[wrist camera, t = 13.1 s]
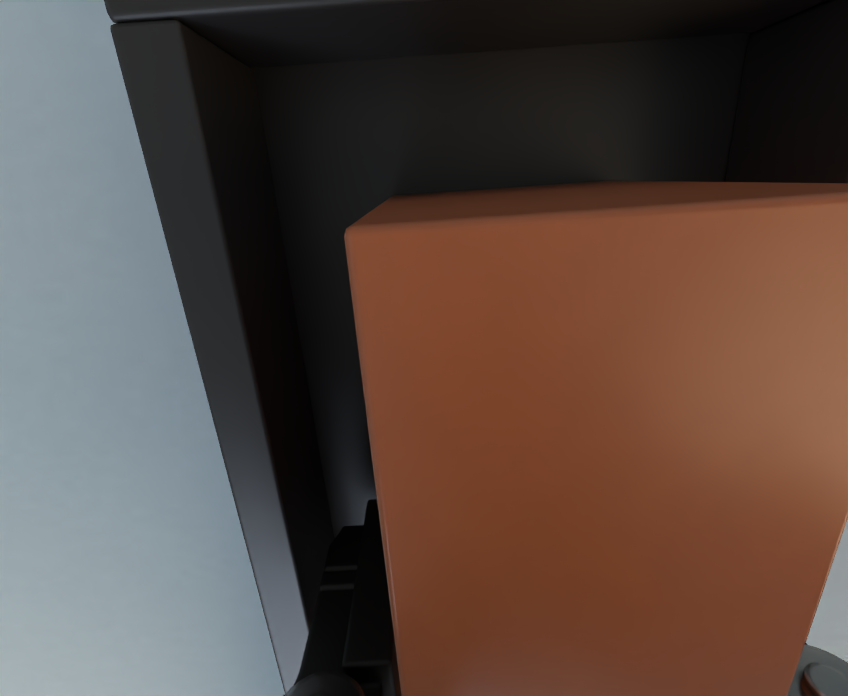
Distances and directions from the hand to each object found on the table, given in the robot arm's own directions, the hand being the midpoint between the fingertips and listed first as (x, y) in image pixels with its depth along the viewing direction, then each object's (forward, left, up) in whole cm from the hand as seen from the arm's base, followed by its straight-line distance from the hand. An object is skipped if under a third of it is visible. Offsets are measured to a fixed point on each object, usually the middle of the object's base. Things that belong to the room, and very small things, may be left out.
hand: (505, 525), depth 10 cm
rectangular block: (0, 0, -1) cm, 1 cm away
